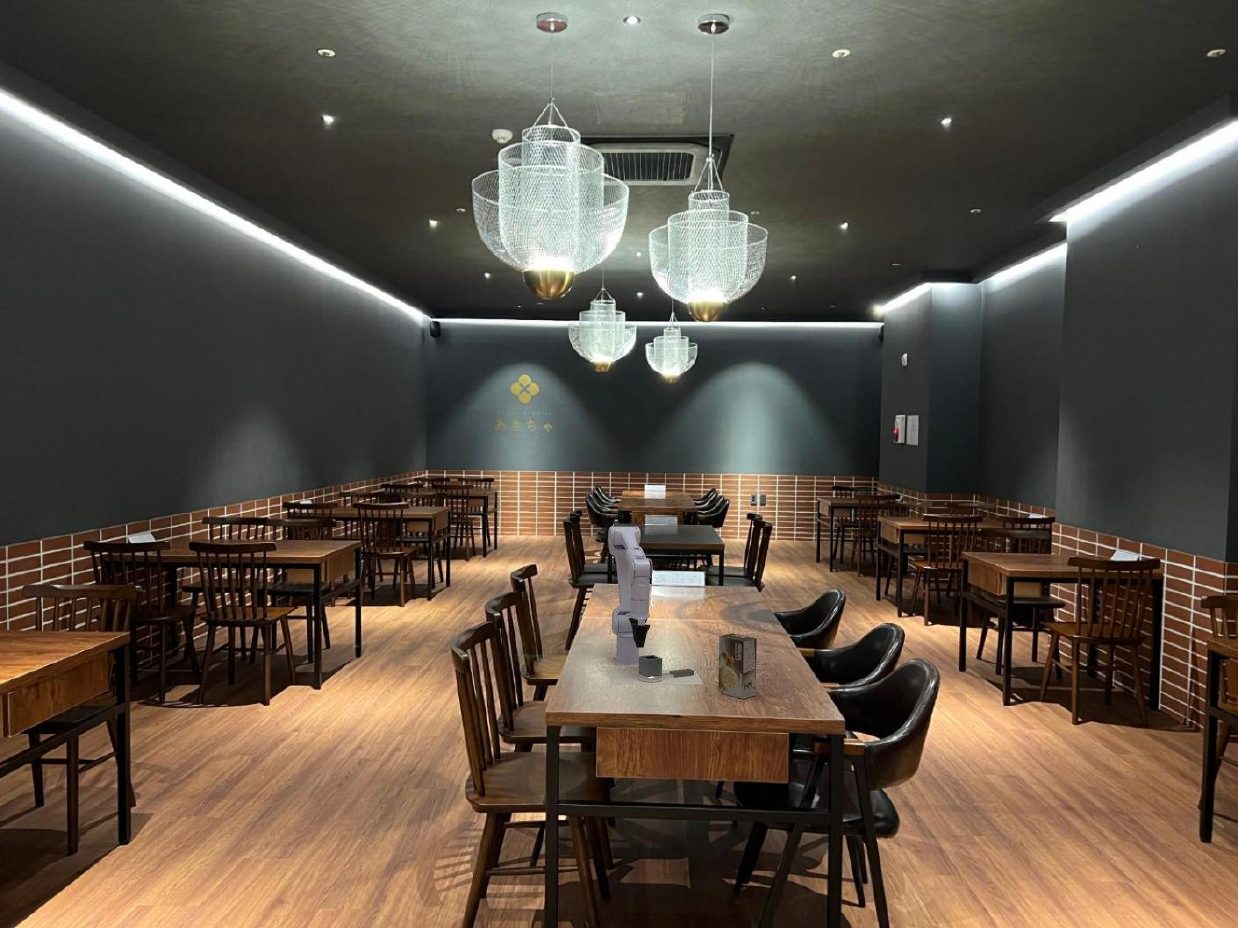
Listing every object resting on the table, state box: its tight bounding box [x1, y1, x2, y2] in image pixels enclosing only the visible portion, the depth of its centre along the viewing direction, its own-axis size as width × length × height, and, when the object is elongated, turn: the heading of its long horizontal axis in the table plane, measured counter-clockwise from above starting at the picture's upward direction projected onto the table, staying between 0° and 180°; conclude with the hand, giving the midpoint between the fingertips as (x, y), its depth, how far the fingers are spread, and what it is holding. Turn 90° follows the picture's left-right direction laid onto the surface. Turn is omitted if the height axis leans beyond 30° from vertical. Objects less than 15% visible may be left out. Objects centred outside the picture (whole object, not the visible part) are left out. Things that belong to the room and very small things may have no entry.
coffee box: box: [717, 633, 758, 700], centre depth 244 cm, size 9×6×16 cm
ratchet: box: [638, 668, 694, 683], centre depth 258 cm, size 7×18×5 cm, turn 119°
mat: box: [606, 669, 705, 685], centre depth 259 cm, size 16×27×1 cm, turn 94°
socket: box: [638, 654, 663, 677], centre depth 255 cm, size 5×5×5 cm
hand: (638, 644), depth 261 cm, fingers open, 7 cm apart
